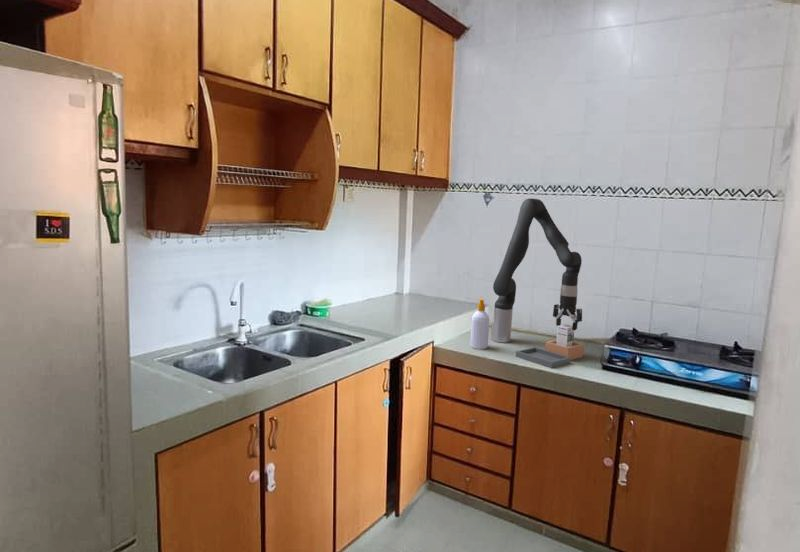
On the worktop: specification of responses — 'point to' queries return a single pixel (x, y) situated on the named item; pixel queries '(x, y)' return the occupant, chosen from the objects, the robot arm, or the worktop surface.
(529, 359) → the charcoal tray
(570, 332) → the syrup box
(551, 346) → the terracotta open box
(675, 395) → the worktop surface
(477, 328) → the soap bottle
